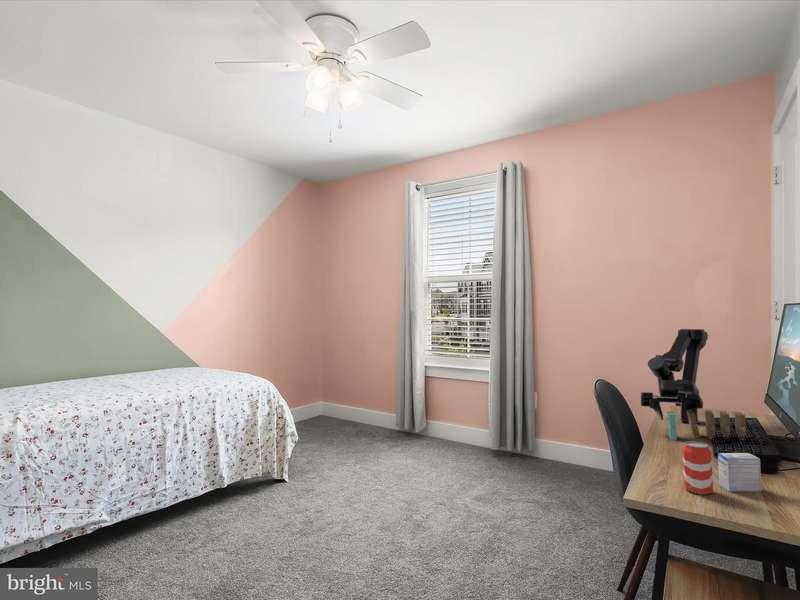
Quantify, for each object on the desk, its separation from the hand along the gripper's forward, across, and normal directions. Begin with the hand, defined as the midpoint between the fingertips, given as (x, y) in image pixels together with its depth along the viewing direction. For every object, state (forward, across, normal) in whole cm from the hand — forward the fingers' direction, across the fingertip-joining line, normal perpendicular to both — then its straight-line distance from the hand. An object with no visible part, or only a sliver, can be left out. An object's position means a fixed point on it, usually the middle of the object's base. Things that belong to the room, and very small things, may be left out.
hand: (672, 419), depth 165 cm
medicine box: (+37, +10, -27) cm, 47 cm away
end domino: (+4, 0, +6) cm, 7 cm away
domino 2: (0, +12, +10) cm, 16 cm away
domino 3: (0, +17, +10) cm, 19 cm away
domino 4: (0, +22, +10) cm, 24 cm away
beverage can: (+41, 0, -30) cm, 51 cm away
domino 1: (0, +8, +9) cm, 12 cm away
